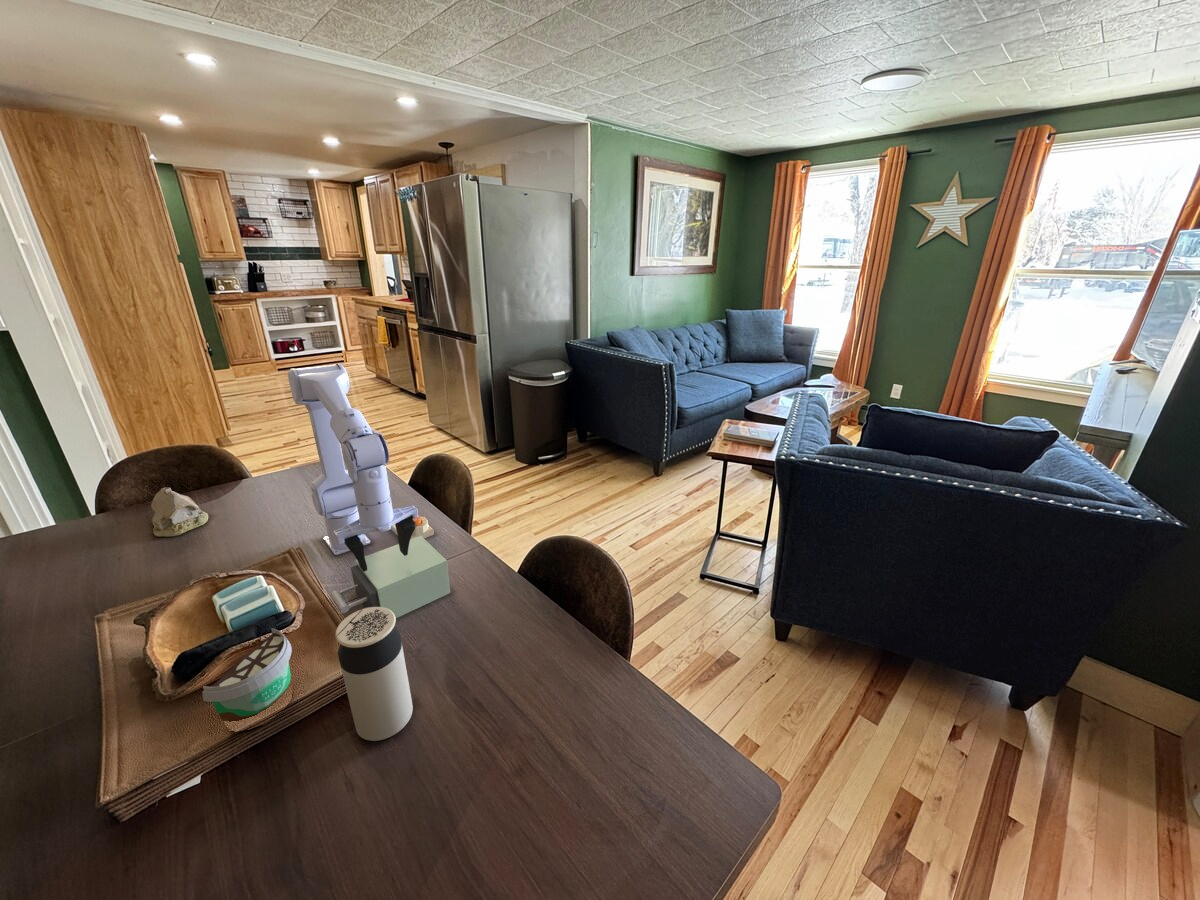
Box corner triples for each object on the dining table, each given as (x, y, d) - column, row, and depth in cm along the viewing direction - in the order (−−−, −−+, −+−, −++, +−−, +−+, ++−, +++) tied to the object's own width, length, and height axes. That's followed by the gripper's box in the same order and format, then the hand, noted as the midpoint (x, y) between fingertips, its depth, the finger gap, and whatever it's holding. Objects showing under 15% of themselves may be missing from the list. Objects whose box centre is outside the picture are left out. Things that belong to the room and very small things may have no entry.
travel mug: (424, 703, 74) (409, 613, 67) (387, 750, 67) (367, 653, 60) (383, 688, 76) (365, 599, 69) (343, 732, 69) (319, 637, 62)
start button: (403, 523, 117) (402, 517, 116) (417, 518, 119) (416, 512, 119) (409, 529, 114) (408, 523, 114) (423, 524, 117) (423, 518, 116)
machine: (383, 624, 90) (377, 589, 86) (361, 592, 98) (355, 559, 95) (450, 592, 98) (446, 560, 95) (425, 566, 106) (421, 535, 103)
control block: (387, 525, 122) (385, 513, 120) (413, 516, 126) (412, 504, 125) (406, 545, 114) (404, 533, 112) (434, 535, 118) (432, 523, 117)
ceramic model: (217, 522, 121) (205, 487, 117) (161, 542, 112) (147, 505, 108) (194, 506, 128) (182, 473, 124) (140, 524, 119) (126, 488, 115)
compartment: (348, 633, 86) (342, 606, 83) (330, 603, 93) (324, 577, 91) (438, 592, 97) (435, 567, 94) (415, 568, 104) (412, 544, 102)
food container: (256, 750, 66) (237, 698, 63) (219, 741, 68) (198, 689, 64) (320, 679, 78) (308, 632, 74) (288, 672, 79) (274, 625, 75)
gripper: (337, 520, 79) (351, 586, 84) (421, 494, 88) (429, 555, 93) (324, 504, 84) (338, 568, 89) (406, 481, 93) (414, 540, 98)
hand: (384, 560), depth 91 cm, fingers open, 7 cm apart
